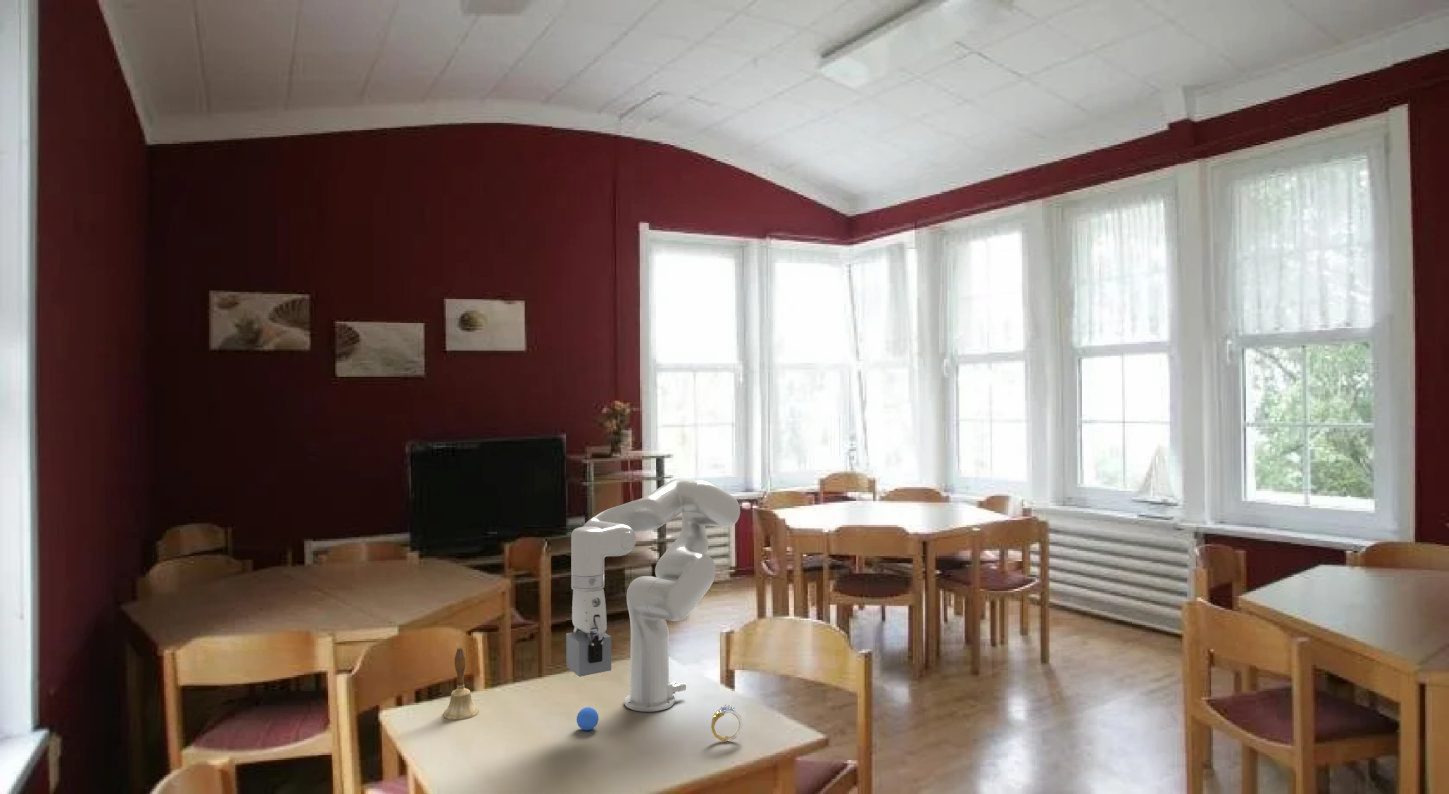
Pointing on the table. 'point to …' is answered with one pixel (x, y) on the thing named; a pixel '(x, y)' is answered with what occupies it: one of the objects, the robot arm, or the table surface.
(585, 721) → the ball
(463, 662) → the hand bell
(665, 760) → the table surface
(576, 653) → the grey cube
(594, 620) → the robot arm
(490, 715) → the table surface
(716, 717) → the ring
